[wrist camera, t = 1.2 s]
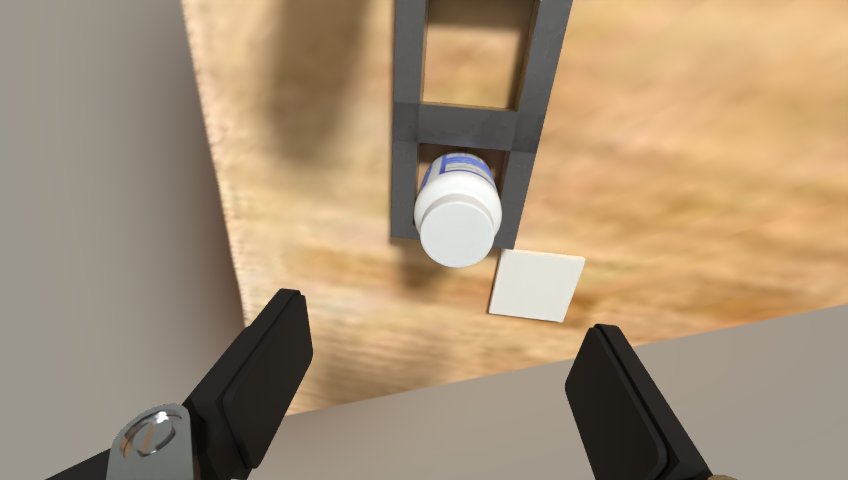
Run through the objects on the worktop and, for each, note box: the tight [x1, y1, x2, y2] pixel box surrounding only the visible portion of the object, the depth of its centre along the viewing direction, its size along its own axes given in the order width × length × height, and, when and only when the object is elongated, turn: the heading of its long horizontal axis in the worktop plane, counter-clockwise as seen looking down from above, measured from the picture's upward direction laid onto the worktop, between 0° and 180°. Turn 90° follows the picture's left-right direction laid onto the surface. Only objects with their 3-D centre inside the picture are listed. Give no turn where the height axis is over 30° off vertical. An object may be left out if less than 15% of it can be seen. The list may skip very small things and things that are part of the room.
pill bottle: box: [414, 150, 502, 268], centre depth 21 cm, size 5×5×10 cm
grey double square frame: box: [391, 0, 573, 250], centre depth 22 cm, size 10×18×2 cm, turn 176°
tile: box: [489, 249, 586, 322], centre depth 29 cm, size 7×7×1 cm
